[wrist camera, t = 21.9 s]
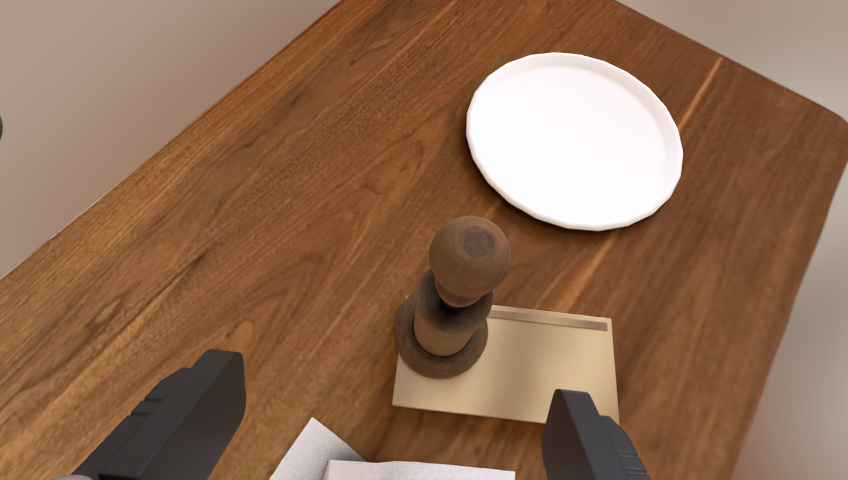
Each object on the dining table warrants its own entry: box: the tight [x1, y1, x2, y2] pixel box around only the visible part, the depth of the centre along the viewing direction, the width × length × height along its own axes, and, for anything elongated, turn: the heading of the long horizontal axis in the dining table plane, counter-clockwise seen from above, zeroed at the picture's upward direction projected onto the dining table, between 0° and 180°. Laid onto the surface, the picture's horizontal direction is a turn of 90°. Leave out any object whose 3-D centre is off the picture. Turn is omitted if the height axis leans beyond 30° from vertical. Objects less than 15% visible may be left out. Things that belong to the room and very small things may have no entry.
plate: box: [466, 53, 683, 231], centre depth 40 cm, size 21×21×1 cm
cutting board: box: [392, 295, 619, 425], centre depth 31 cm, size 16×8×2 cm, turn 84°
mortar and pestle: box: [394, 216, 511, 379], centre depth 22 cm, size 7×6×18 cm
